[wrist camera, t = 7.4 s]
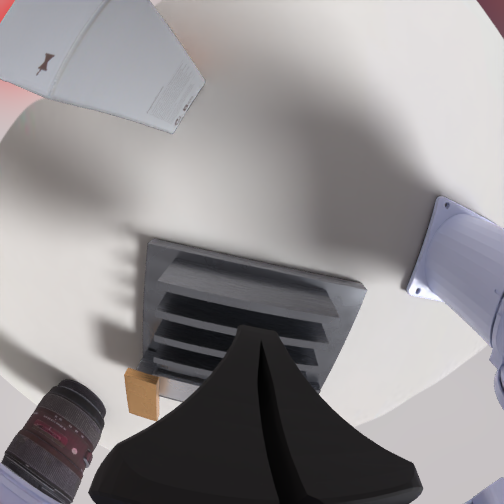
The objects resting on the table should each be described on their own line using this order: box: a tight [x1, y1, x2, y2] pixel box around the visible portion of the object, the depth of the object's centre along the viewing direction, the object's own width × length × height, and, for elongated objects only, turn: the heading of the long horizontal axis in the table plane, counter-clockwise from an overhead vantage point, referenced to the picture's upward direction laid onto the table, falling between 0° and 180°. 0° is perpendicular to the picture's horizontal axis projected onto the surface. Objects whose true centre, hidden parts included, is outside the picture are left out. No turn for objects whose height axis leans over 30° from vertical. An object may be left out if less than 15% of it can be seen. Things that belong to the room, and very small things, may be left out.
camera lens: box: [1, 380, 106, 504], centre depth 17 cm, size 8×8×15 cm
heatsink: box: [124, 238, 367, 421], centre depth 18 cm, size 15×14×5 cm
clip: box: [136, 359, 206, 401], centre depth 18 cm, size 8×2×4 cm, turn 77°
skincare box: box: [0, 0, 205, 134], centre depth 9 cm, size 6×4×12 cm
